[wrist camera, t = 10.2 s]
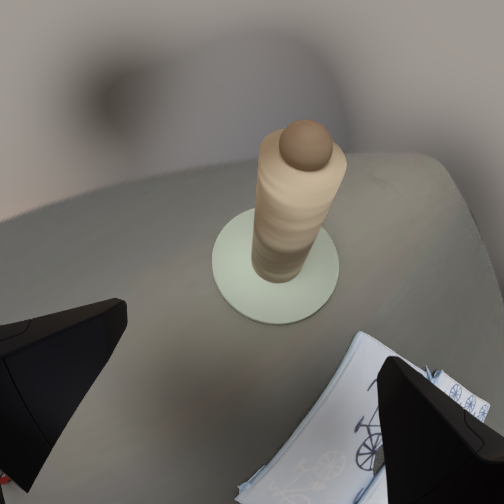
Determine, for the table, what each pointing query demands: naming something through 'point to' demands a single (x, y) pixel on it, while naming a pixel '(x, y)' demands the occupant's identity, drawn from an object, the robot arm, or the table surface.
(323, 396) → the open notebook
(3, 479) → the canned food
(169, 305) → the table surface
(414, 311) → the table surface
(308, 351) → the table surface
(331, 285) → the disc
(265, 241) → the pepper mill
